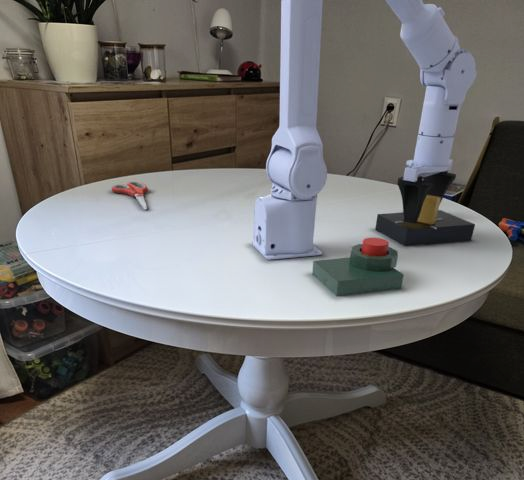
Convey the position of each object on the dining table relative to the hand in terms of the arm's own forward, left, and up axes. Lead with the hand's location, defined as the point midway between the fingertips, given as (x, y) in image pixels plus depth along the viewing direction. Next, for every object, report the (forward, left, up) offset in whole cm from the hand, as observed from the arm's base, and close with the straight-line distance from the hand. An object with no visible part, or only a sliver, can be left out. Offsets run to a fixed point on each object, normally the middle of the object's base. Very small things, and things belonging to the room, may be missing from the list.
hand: (419, 217), depth 86 cm
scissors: (-44, +40, -4) cm, 60 cm away
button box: (-21, -16, -4) cm, 27 cm away
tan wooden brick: (0, 0, -1) cm, 1 cm away
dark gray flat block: (+2, +1, -4) cm, 4 cm away
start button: (-18, -15, 0) cm, 23 cm away
